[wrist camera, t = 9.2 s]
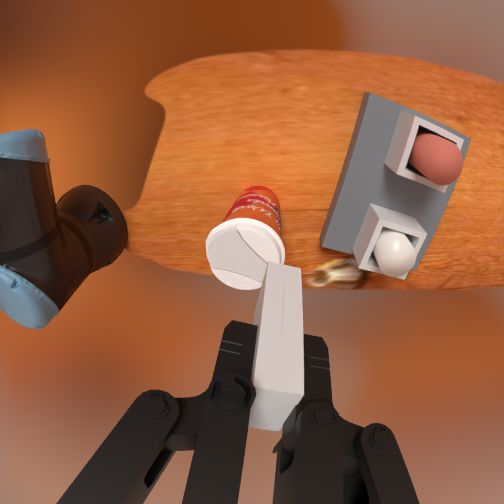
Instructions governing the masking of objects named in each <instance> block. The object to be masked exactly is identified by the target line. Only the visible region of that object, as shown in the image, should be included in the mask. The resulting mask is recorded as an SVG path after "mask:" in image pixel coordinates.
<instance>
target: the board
mask: <svg viewBox="0 0 504 504" xmlns="http://www.w3.org/2000/svg"><path fill="white" fill-rule="evenodd" d="M418 130H424V131H427V132H429V133H432V134H434V135H436V136H439V137H441V138H444V139H446V140H448V141H450V142H452V143H454V144H455V145H456V146H457V147H458V148H459V150H460V152H461V154H462V158H463V162H464V159H465V156H466V153H467V150H468V147H469V144H470V141H471V139H470V138H468V137H467V136H465V135H463V134H461V133H459V132H457V131H455V130H454V129H452V128H450V127H448V126H446V125H444V124H442V123H440V122H438V121H436V120H434V119H432V118H430V117H427V116H425V115H423V114H421V113H419V112H417V111H414V110H412V109H410V108H407V107H405V106H403V105H400V104H398V103H395V102H393V101H390V100H388V99H385V98H383V97H380V96H378V95H375V94H372V93H366V92H364V96H363V99H362V103H361V107H360V110H359V114H358V118H357V121H356V125H355V128H354V132H353V135H352V139H351V142H350V145H349V149H348V152H347V155H346V159H345V162H344V165H343V168H342V172H341V175H340V178H339V181H338V184H337V187H336V190H335V193H334V197H333V200H332V203H331V206H330V209H329V212H328V215H327V218H326V221H325V223H324V226H323V229H322V232H321V235H320V240H321V247H325V248H329V249H333V250H337V251H341V252H344V253H348V254H352V255H354V256H355V259H356V262H357V265H358V268H360V269H364V270H368V271H372V272H376V273H380V274H384V273H383V272H382V271H381V270H380V267H379V265H378V263H377V260H376V258H375V255H374V253H373V248H374V246H375V244H376V241H377V239H378V237H379V234H380V232H381V230H382V227H383V226H384V227H387V228H390V229H393V230H397V231H400V232H403V233H405V235H406V236H407V238H408V240H409V241H410V243H411V244H412V246H413V247H414V249H415V251H416V261H415V264H414V266H413V267H412V269H411V270H413V271H416V269H417V267H418V265H419V263H420V262H421V260H422V258H423V256H424V254H425V252H426V250H427V248H428V246H429V244H430V241H431V239H432V237H433V235H434V233H435V231H436V229H437V227H438V224H439V222H440V220H441V218H442V215H443V213H444V211H445V208H446V206H447V204H448V201H449V199H450V196H451V194H452V191H453V189H454V186H455V184H456V181H457V179H456V180H455V181H454V182H453V183H451V184H449V185H445V186H441V185H437V184H435V183H433V182H432V181H431V180H430V179H428V178H427V177H426V176H424V175H423V174H422V173H421V172H419V171H418V170H417V169H415V168H414V167H413V166H411V165H410V164H409V163H408V162H407V161H408V158H409V156H410V153H411V149H412V146H413V143H414V140H415V137H416V134H417V131H418ZM407 274H408V272H407V273H406V274H404V275H402V276H399V277H396V278H400V279H405V278H406V276H407ZM384 275H385V274H384Z"/></svg>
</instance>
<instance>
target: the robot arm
mask: <svg viewBox="0 0 504 504" xmlns="http://www.w3.org/2000/svg"><path fill="white" fill-rule="evenodd" d="M49 163H50V159H49V158H48V155H47V149H46V142H45V138H44V135H43V134H42V132H41V131H39V130H37V129H27V130H20V131H14V132H8V133H3V134H0V308H1V310H2V311H3V312H5V313H6V314H7V315H8V316H9V317H10V318H11V319H13V320H14V321H16V322H17V323H19V324H20V325H22V326H25V327H27V328H30V329H41V328H44V327H45V326H46V325H47V324H48V323H49V322H50V321H51V319H53V317H54V316H56V315H57V314H58V313H59V311H60V310H61V309H62V307H63V306H64V305H65V303H66V302H67V301H68V300H69V298H70V297H71V296H72V295H73V293H74V292H75V291H76V290H77V289H78V287H79V286H80V285H81V283H82V282H83V281H84V280H85V279H86V277H87V276H88V275H89V274H90V273H92V272H95V271H97V270H99V269H100V268H102V267H105V266H108V265H110V264H111V263H113V262H114V261H115V260H116V259H117V258H118V256H119V255H120V254H121V253H122V252H123V250H124V248H125V245H126V242H127V227H126V223H125V219H124V217H123V214H122V212H121V210H120V209H119V207H118V206H117V204H116V203H115V201H114V200H113V199H112V198H111V197H110V196H109V195H107V194H106V193H105V192H103V191H102V190H100V189H99V188H96V187H94V186H89V185H80V186H77V187H74V188H73V189H71V190H70V191H68V192H66V193H65V194H64V195H63V196H62V197H61V198H60V199H59V201H58V202H57V204H56V203H55V197H54V191H53V186H52V179H51V172H50V165H49ZM329 368H330V365H329V354H328V347H327V345H326V344H325V342H324V340H323V338H322V337H317V336H312V335H307V334H303V310H302V285H301V268H297V267H292V266H288V265H283V264H279V263H274V262H270V261H268V264H267V267H266V271H265V275H264V278H263V282H262V286H261V289H260V293H259V296H258V300H257V304H256V308H255V315H254V321H253V325H252V324H247V323H243V322H238V321H234V320H232V321H231V322H230V323H229V324H228V325H227V326H226V327H225V329H224V333H223V337H222V341H221V345H220V349H219V353H218V357H217V361H216V365H215V369H214V373H213V377H212V381H211V383H210V385H209V387H208V389H207V390H206V391H205V392H203V393H202V394H200V395H198V396H195V397H189V398H174V397H173V396H172V395H170V394H169V393H168V392H165V391H162V390H149V391H146V392H143V393H142V394H141V395H140V396H138V397H137V398H136V400H135V401H134V402H133V404H132V405H131V406H130V408H129V409H128V410H127V412H126V413H125V414H124V415H123V417H122V418H121V419H120V421H119V422H118V423H117V425H116V426H115V427H114V429H113V430H112V431H111V433H110V434H109V435H108V436H107V438H106V439H105V440H104V442H103V443H102V444H101V446H100V447H99V448H98V450H97V451H96V452H95V454H94V455H93V456H92V458H91V459H90V460H89V461H88V463H87V464H86V465H85V467H84V468H83V470H82V471H81V472H80V473H79V475H78V476H77V477H76V479H75V480H74V481H73V482H72V484H71V485H70V486H69V488H68V489H67V490H66V492H65V493H64V494H63V496H62V497H61V498H60V500H59V501H58V502H57V504H143V503H144V501H145V500H146V498H147V496H148V495H149V493H150V492H151V490H152V489H153V487H154V485H155V484H156V482H157V481H158V479H159V477H160V475H161V474H162V473H163V471H164V469H165V468H166V466H167V465H168V463H169V461H170V460H171V458H172V456H173V455H174V453H175V451H185V450H194V454H193V458H192V462H191V467H190V471H189V475H188V479H187V484H186V488H185V492H184V497H183V501H182V504H237V503H238V496H239V489H240V483H241V476H242V468H243V461H244V454H245V447H246V439H247V432H248V427H252V428H259V429H264V430H271V431H280V429H281V428H282V427H283V434H282V438H281V439H280V441H279V442H278V443H277V444H276V446H275V447H274V449H273V453H276V452H277V463H276V473H275V484H274V495H273V504H419V501H418V498H417V495H416V492H415V490H414V487H413V484H412V481H411V478H410V476H409V473H408V470H407V468H406V465H405V462H404V460H403V457H402V454H401V451H400V449H399V446H398V444H397V441H396V439H395V437H394V434H393V433H392V431H391V430H390V429H389V428H388V427H387V426H385V425H383V424H380V423H373V424H370V425H368V426H366V427H365V428H364V427H361V426H358V425H356V424H353V423H350V422H348V421H346V420H344V419H343V418H342V417H340V416H339V413H338V412H337V411H336V410H335V408H334V407H333V402H332V390H331V378H330V370H329Z"/></svg>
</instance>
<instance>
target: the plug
mask: <svg viewBox="0 0 504 504" xmlns="http://www.w3.org/2000/svg"><path fill="white" fill-rule="evenodd" d="M373 253H374V255H375V258H376V260H377V263H378V265H379V267H380V270H381V271H382V272H383V273H384V274H385V275H387V276H390V277H399V276H402V275H404V274H406V273H407V272H409V271H410V270H411V269H412V267H413V266H414V264H415V261H416V251H415V249H414V247H413V246H412V244H411V243H410V241H409V240H408V238H407V236H406V235H405V233H403V232H400V231H397V230H393V229H390V228H387V227H384V226H383V227H382V230H381V232H380V234H379V237H378V239H377V241H376V244H375V246H374V248H373Z"/></svg>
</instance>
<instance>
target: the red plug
mask: <svg viewBox="0 0 504 504" xmlns="http://www.w3.org/2000/svg"><path fill="white" fill-rule="evenodd" d="M407 162H408V163H409V164H410V165H411V166H413V167H414V168H415V169H417V170H418V171H419V172H421V173H422V174H423V175H424V176H426V177H427V178H428V179H430V180H431V181H432V182H433V183H435V184H437V185H441V186H445V185H449V184H451V183H453V182H454V181H455V180H456V179H457V178H458V177H459V175H460V173H461V171H462V166H463V158H462V154H461V152H460V150H459V148H458V147H457V146H456V145H455V144H454V143H452V142H450V141H448V140H446V139H444V138H441V137H439V136H436V135H434V134H432V133H429V132H427V131H424V130H418V131H417V134H416V137H415V140H414V143H413V146H412V149H411V153H410V156H409V158H408V161H407Z"/></svg>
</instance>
